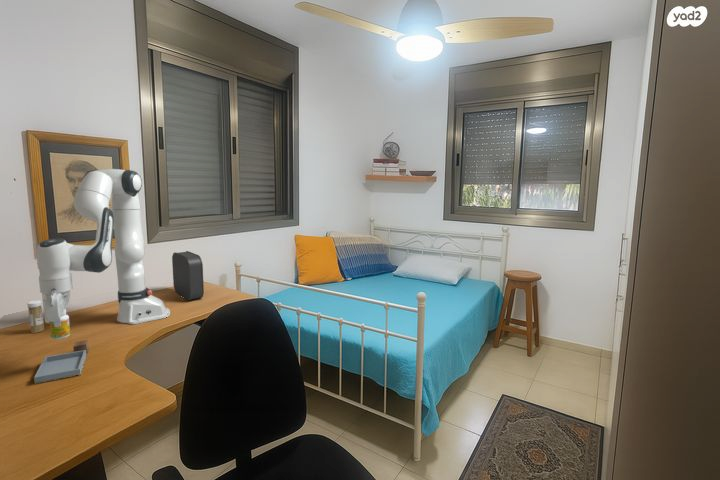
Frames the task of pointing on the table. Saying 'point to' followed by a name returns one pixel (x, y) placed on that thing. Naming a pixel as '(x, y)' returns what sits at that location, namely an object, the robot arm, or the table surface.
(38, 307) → the sprinkles bottle
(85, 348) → the walnut block
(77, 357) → the tray
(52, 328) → the supplement bottle
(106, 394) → the table surface
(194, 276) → the speaker
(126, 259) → the robot arm
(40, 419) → the table surface
